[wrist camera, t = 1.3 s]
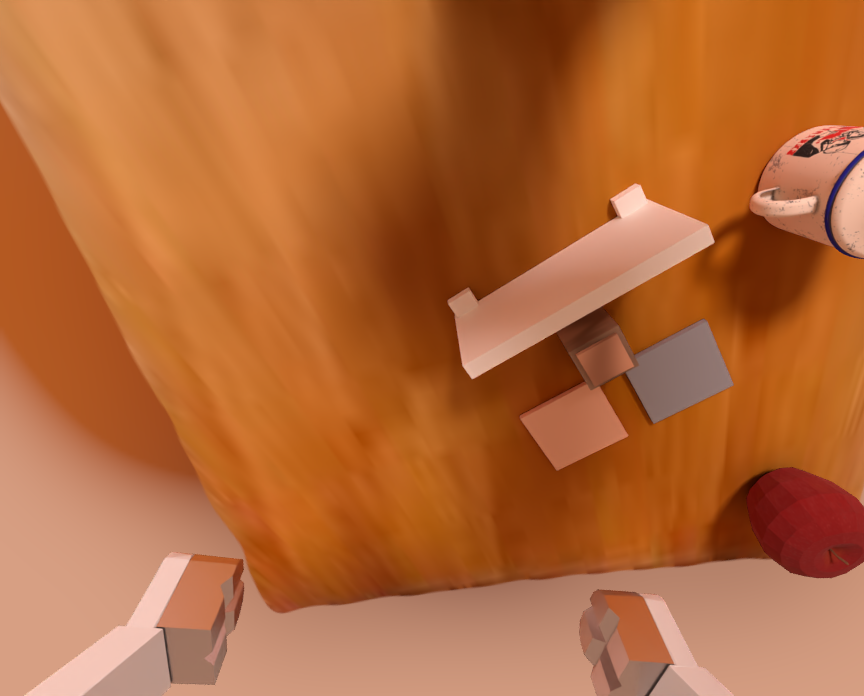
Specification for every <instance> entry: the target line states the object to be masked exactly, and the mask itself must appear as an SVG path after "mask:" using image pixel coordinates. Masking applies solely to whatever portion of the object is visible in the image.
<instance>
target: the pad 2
mask: <svg viewBox="0 0 864 696" xmlns="http://www.w3.org/2000/svg"><path fill="white" fill-rule="evenodd" d="M634 356H635V358H636V360H637V361H638V363H639V366H637V367H635V368H634V369H632V370H630V371H628V372H626V375H627V377H628V378H629V380H630V382H631V384H632V386H633V388H634V389H635V391H636V393H637V395H638V397H639V399H640V400H641V402H642V404H643V406H644V408H645V410H646V412H647V413H648V415H649V417H650V419H651V421H652V422H653V423H654V424H655V423H657V422H659V421H661V420H663V419H665V418H667V417H669V416H671V415H673V414H675V413H677V412H679V411H681V410H683V409H685V408H688V407H690V406H692V405H694V404H696V403H698V402H700V401H702V400H704V399H706V398H708V397H710V396H712V395H714V394H716V393H718V392H721V391H723V390H725V389H727V388H729V387H731V386H733V385H734V384H733V382H732V379H731V377H730V375H729V372H728V370H727V368H726V365H725V363H724V360H723V358H722V356H721V353H720V351H719V349H718V346H717V344H716V341H715V339H714V337H713V334H712V332H711V330H710V327H709V325H708V322H707V321H706V320H705V319H702V320H700V321H698V322H696V323H694V324H692V325H691V326H689V327H687V328H685V329H683V330H681V331H679V332H677V333H675V334H674V335H672V336H670V337H668V338H666V339H664V340H662V341H660V342H658V343H656V344H655V345H653V346H651V347H649V348H647V349H645V350H643V351H641V352H639V353H637V354H636V355H634Z"/></svg>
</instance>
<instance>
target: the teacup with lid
mask: <svg viewBox="0 0 864 696" xmlns="http://www.w3.org/2000/svg"><path fill="white" fill-rule="evenodd" d="M750 210H751V211H752V212H753V213H755V214H757V215H760V216H764V218H765V219H766V220H767V221H768V222H769V223H770V224H772V225H773V226H775V227H777V228H779V229H782V230H785V231H788V232H791V233H794V234H797V235H800V236H803V237H806V238H808V239H811V240H814V241H817V242H820V243H823V244H826V245H829V246H832V247H835V248H836V249H837V250H838V251H840V252H841V253H843V254H845V255H847V256H850V257H854V258H859V259H864V127H854V126H834V125H827V126H819V127H815V128H812V129H809V130H806V131H804V132H802V133H800V134H798V135H796V136H795V137H793V138H792V139H790V140H789V141H788V142H787V143H785V144H784V145H783V146H782V147H781V148H780V149H779V150H778V151H777V152H776V153H775V154H774V156H773V157H772V158H771V160H770V161H769V163H768V164H767V166H766V168H765V170H764V172H763V174H762V177H761V179H760V183H759V187H758V192H757V193H756V194H754V195H753V196H752V197H751V199H750Z"/></svg>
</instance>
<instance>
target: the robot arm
mask: <svg viewBox="0 0 864 696" xmlns="http://www.w3.org/2000/svg"><path fill="white" fill-rule="evenodd" d="M243 570H244V568H243V559H234V558H225V557H216V556H206V555H198V554H188V553H178V552H170V554H168V555H167V557H166V558H165V559H164V560H163V562H162V564H161V565H160V567H159V569H158V571H157V573H156V574H155V576H154V578H153V579H152V581H151V583H150V585H149V586H148V588H147V590H146V592H145V593H144V595H143V597H142V599H141V600H140V602H139V604H138V606H137V607H136V609H135V611H134V613H133V614H132V616H131V618H130V620H129V621H128V623H127V625H126V626H124V625H118V626H117V627H116V628H114V629H113V630H111V631H110V632H109V633H107V634H106V635H105V636H103V637H102V638H101V639H99V640H98V641H97V642H95V643H94V644H93V645H91V646H90V647H89V648H87V649H86V650H84V651H83V652H82V653H80V654H79V655H78V656H76V657H75V658H74V659H72V660H71V661H70V662H68V663H67V664H66V665H65V666H63V667H62V668H60V669H59V670H58V671H56V672H55V673H54V674H52V675H51V676H49V677H48V678H47V679H46V680H44V681H43V682H42V683H40V684H39V685H37V686H36V687H35V688H33V689H32V690H31V691H29V692H28V693H27V694H25V695H24V696H162V695H163V694H164V693H165V692H166V691H167V690H168V689H169V688H170V687H171V683H175V684H176V683H177V684H208V685H210V684H211V685H215V683H216V680H217V677H218V674H219V672H220V669H221V666H222V663H223V660H224V658H225V655H226V652H227V639H226V637H227V636H228V635H229V634H230V633H231V632H232V631H233V630H235V626H236V624H237V620H238V618H239V614H240V610H241V606H242V602H243V594H244V583H243V582H242V581H241V580H240V578H241V575H242V573H243ZM590 601H591V604H592V607H590V608H588V609H587V610H585V611H584V612H583V615H582V617H581V619H580V629H579V634H580V641H581V646H582V649H583V652H584V655H585V656H586V657H587V659H588V660H589V661H590V662H591V663H592V664H593V665H594V667H593V670H592V673H591V679H592V682H593V685H594V688H595V691H596V694H597V696H734V695H733V694H732V693H731V692H730V691H729V690H728V689H726V688H725V686H723V685H722V684H721V683H720V682H719V681H718V680H717V679H716V678H715V677H714V676H713V675H712V674H711V673H710V672H708V671H707V670H706V669H705V668H704V667H698V666H697V664H696V662H695V660H694V658H693V656H692V654H691V652H690V650H689V648H688V646H687V644H686V642H685V640H684V638H683V637H682V635H681V632H680V631H679V629H678V627H677V625H676V623H675V621H674V619H673V617H672V615H671V613H670V611H669V609H668V607H667V606H666V603H665V601H664V600H663V599H662V598H661V597H660V596H659V595H655V594H643V593H636V592H625V591H611V590H596V591H594V592H593V594H592V596H591V598H590Z"/></svg>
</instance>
